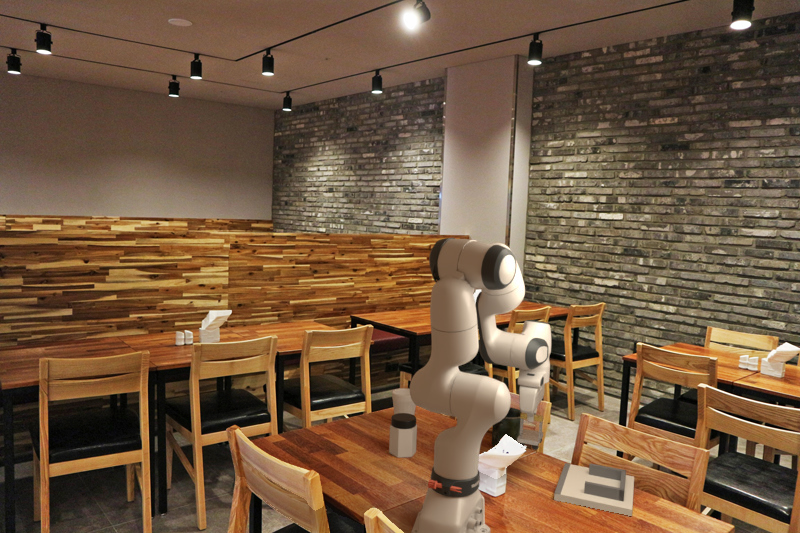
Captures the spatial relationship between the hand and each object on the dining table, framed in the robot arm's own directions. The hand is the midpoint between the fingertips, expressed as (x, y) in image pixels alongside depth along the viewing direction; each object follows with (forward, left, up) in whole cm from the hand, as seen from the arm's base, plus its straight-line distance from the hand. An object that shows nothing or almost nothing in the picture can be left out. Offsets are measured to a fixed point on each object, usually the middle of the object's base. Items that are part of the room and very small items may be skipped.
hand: (531, 420), depth 170 cm
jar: (-1, +41, -18) cm, 45 cm away
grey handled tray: (0, 0, -8) cm, 8 cm away
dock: (0, -19, -18) cm, 26 cm away
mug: (+19, +12, -18) cm, 29 cm away
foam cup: (+21, +50, -18) cm, 57 cm away
